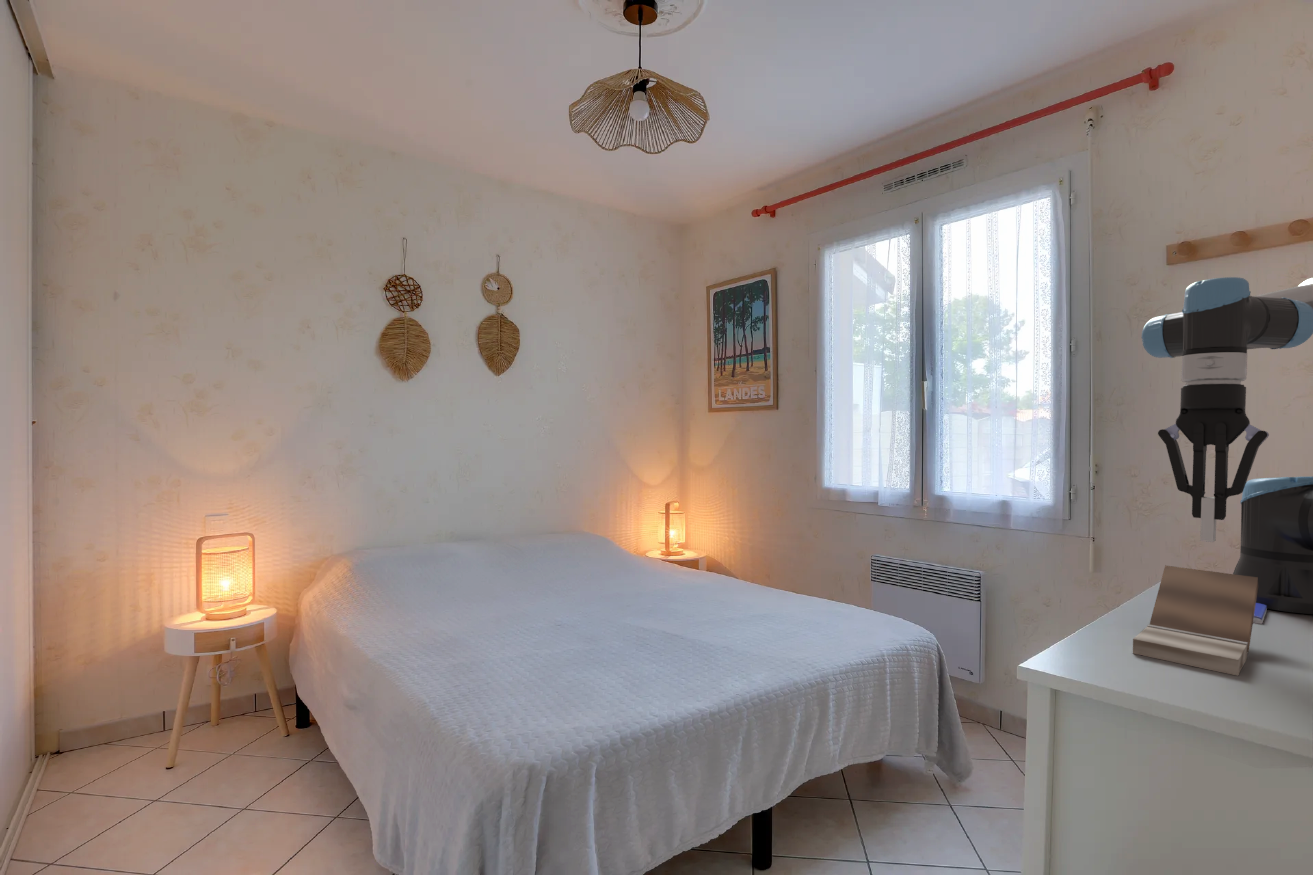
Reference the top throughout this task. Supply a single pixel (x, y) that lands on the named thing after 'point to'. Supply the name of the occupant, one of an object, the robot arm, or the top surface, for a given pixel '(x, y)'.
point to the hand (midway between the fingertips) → (1207, 540)
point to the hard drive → (1259, 613)
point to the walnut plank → (1206, 603)
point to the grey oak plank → (1191, 649)
